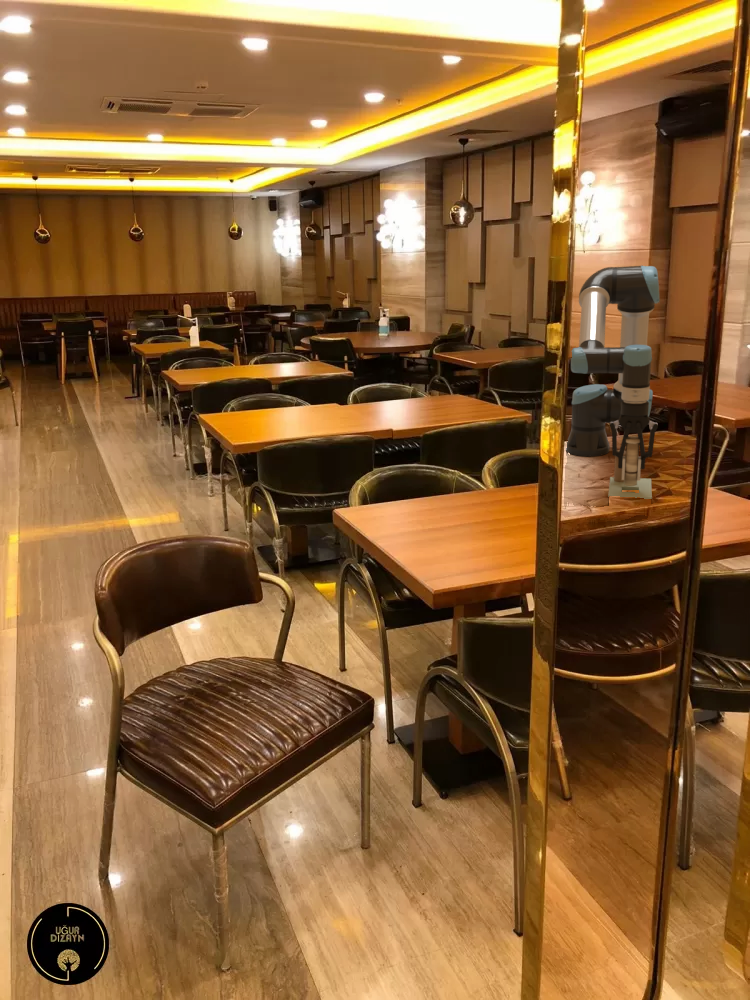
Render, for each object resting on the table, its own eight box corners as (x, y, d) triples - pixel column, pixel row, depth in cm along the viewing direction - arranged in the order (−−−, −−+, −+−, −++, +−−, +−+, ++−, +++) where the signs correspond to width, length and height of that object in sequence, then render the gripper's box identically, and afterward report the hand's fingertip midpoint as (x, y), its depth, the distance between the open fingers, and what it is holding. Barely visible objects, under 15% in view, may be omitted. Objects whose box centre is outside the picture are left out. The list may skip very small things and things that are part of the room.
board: (609, 489, 253) (611, 449, 249) (650, 491, 250) (652, 450, 245) (607, 508, 238) (609, 465, 234) (651, 510, 235) (653, 467, 230)
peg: (622, 481, 242) (625, 435, 237) (638, 482, 241) (641, 436, 236) (622, 486, 238) (624, 439, 233) (638, 486, 237) (641, 440, 232)
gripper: (603, 403, 230) (600, 481, 238) (666, 404, 225) (661, 484, 233) (604, 397, 237) (601, 473, 245) (665, 398, 232) (660, 476, 240)
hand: (630, 478), depth 239 cm, fingers closed on peg, 4 cm apart
